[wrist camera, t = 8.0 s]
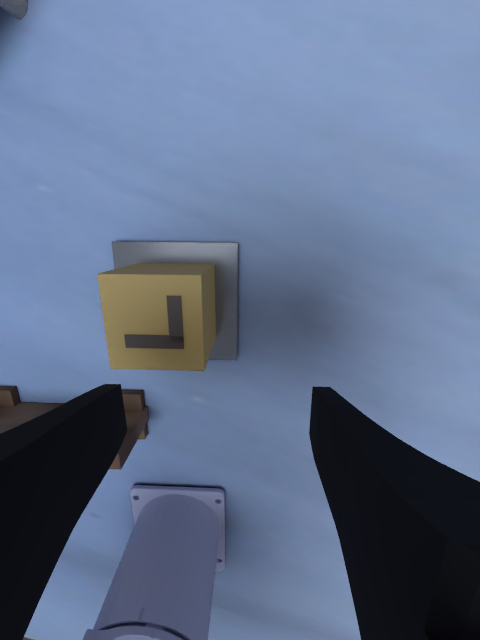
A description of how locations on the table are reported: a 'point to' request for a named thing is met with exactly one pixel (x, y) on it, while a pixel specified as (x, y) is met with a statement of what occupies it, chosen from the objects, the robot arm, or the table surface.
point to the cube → (159, 315)
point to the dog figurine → (15, 7)
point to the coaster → (197, 253)
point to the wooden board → (8, 412)
